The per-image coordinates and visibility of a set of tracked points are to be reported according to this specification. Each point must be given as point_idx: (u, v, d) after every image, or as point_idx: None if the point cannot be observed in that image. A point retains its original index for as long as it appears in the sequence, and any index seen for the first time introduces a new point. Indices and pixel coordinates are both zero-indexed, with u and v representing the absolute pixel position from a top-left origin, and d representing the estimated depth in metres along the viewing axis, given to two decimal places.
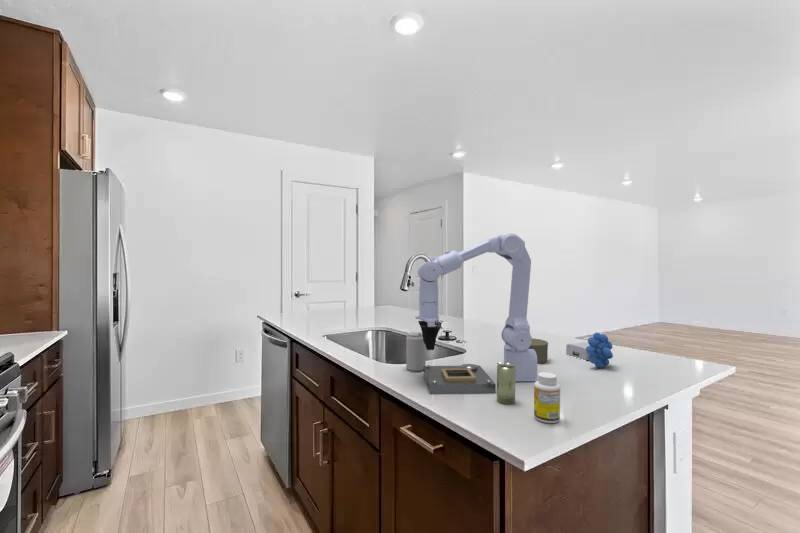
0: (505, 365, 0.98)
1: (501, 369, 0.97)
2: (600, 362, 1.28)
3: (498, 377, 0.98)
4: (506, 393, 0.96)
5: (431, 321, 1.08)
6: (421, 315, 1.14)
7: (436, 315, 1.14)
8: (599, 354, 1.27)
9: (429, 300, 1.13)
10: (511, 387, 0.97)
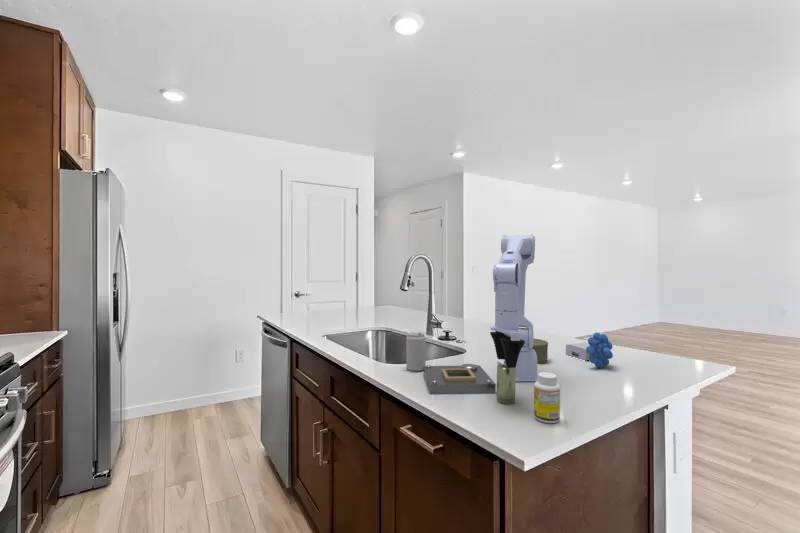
0: (505, 365, 0.98)
1: (501, 369, 0.97)
2: (600, 362, 1.28)
3: (498, 377, 0.98)
4: (506, 393, 0.96)
5: (516, 334, 0.91)
6: (499, 326, 0.97)
7: (517, 326, 0.97)
8: (599, 354, 1.27)
9: (518, 308, 0.97)
10: (511, 387, 0.97)
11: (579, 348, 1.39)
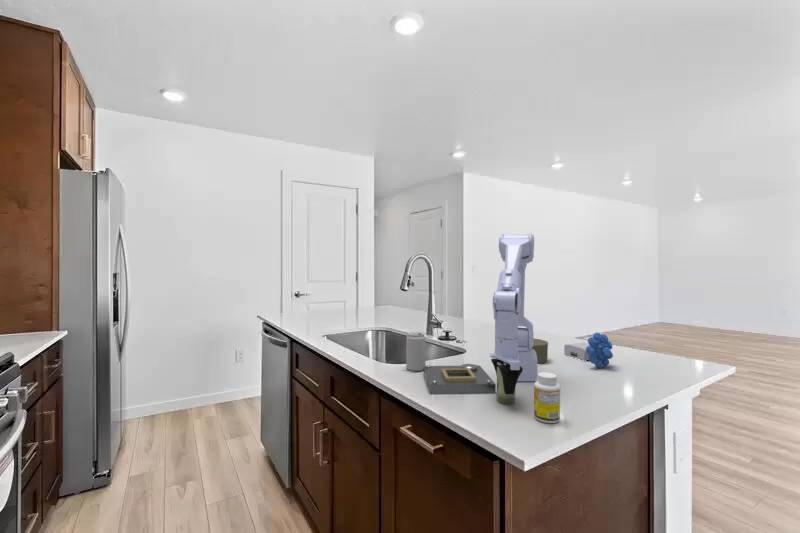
0: None
1: None
2: (600, 362, 1.28)
3: (498, 377, 0.98)
4: None
5: (515, 363, 0.91)
6: (499, 354, 0.97)
7: (516, 354, 0.97)
8: (599, 354, 1.27)
9: (517, 335, 0.97)
10: None
11: (578, 348, 1.39)
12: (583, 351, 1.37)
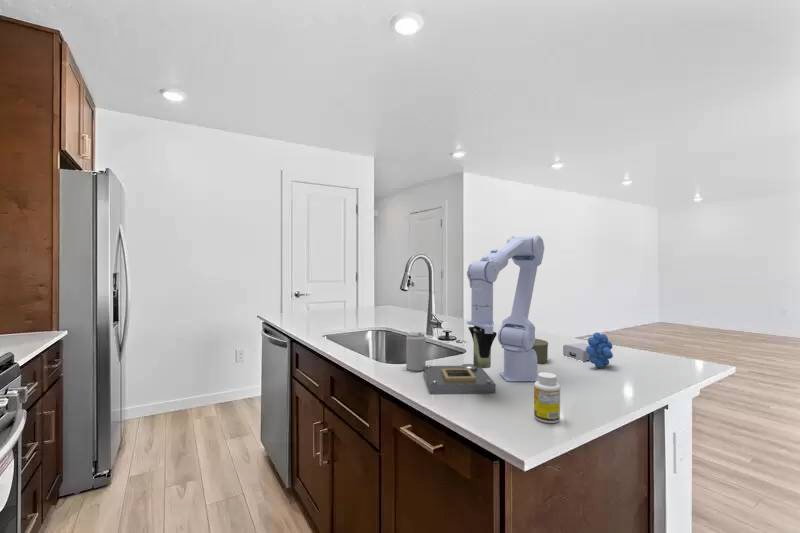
0: None
1: None
2: (600, 362, 1.28)
3: (474, 342, 1.04)
4: None
5: (489, 327, 0.97)
6: (474, 320, 1.03)
7: (491, 320, 1.03)
8: (599, 354, 1.27)
9: (490, 303, 1.02)
10: None
11: (576, 348, 1.39)
12: (582, 351, 1.36)
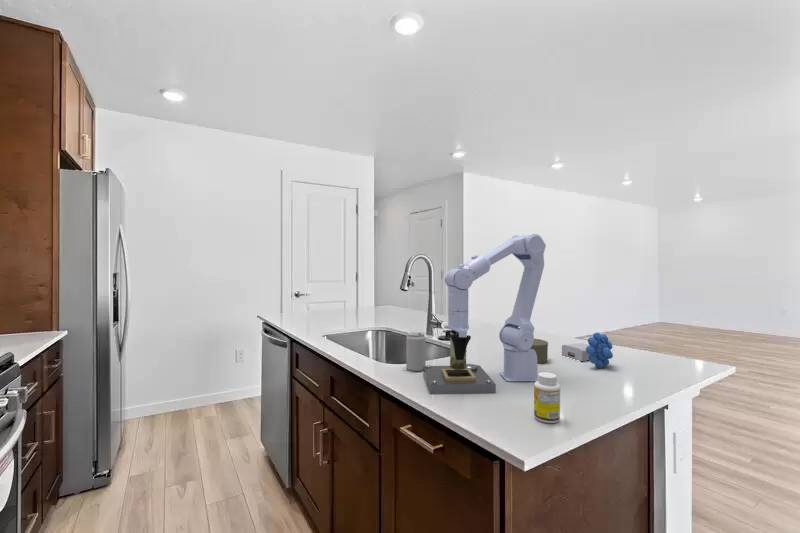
0: None
1: None
2: (600, 362, 1.28)
3: (451, 345, 1.10)
4: None
5: (463, 331, 1.04)
6: (451, 324, 1.09)
7: (466, 324, 1.09)
8: (599, 354, 1.27)
9: (462, 309, 1.08)
10: None
11: (575, 349, 1.38)
12: (580, 351, 1.36)
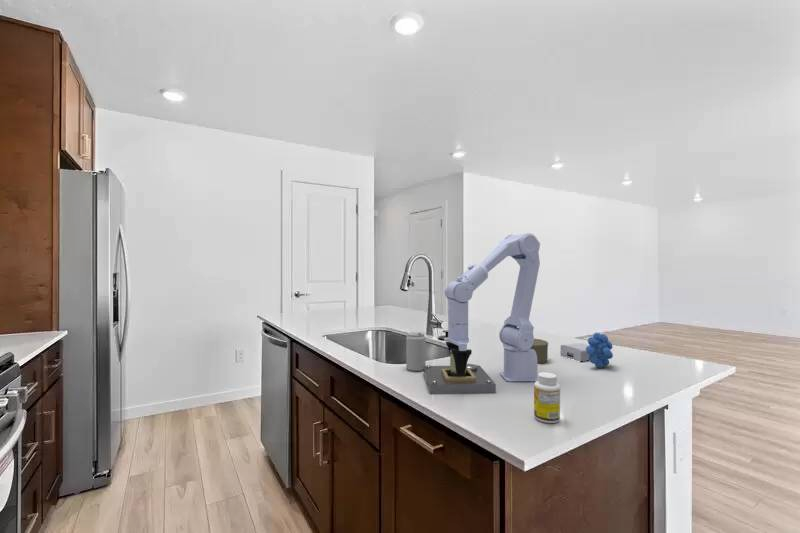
0: None
1: None
2: (600, 362, 1.28)
3: (451, 363, 1.11)
4: None
5: (463, 345, 1.04)
6: (451, 337, 1.09)
7: (466, 337, 1.09)
8: (599, 354, 1.27)
9: (462, 322, 1.08)
10: None
11: (574, 349, 1.38)
12: (579, 352, 1.36)
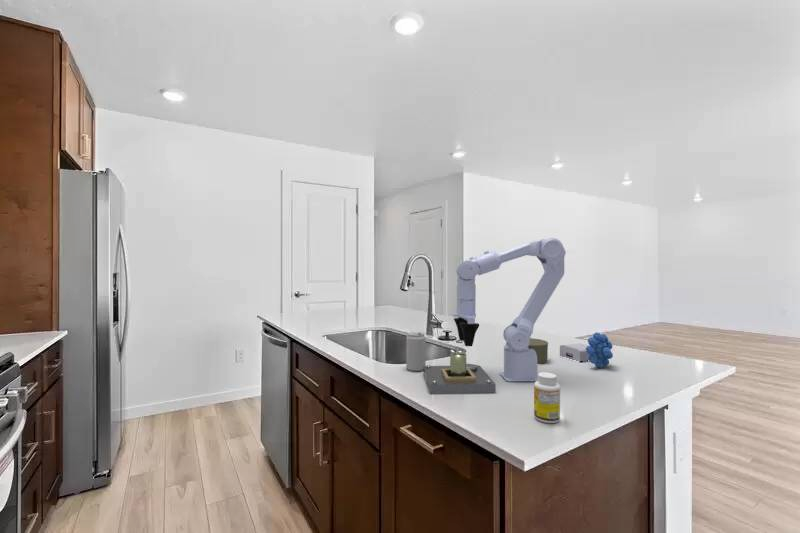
0: (457, 353, 1.11)
1: (453, 356, 1.10)
2: (600, 362, 1.28)
3: (451, 363, 1.11)
4: None
5: (471, 318, 1.12)
6: (459, 312, 1.17)
7: (474, 312, 1.17)
8: (599, 354, 1.27)
9: (466, 298, 1.16)
10: (461, 372, 1.09)
11: (573, 349, 1.38)
12: (578, 352, 1.36)
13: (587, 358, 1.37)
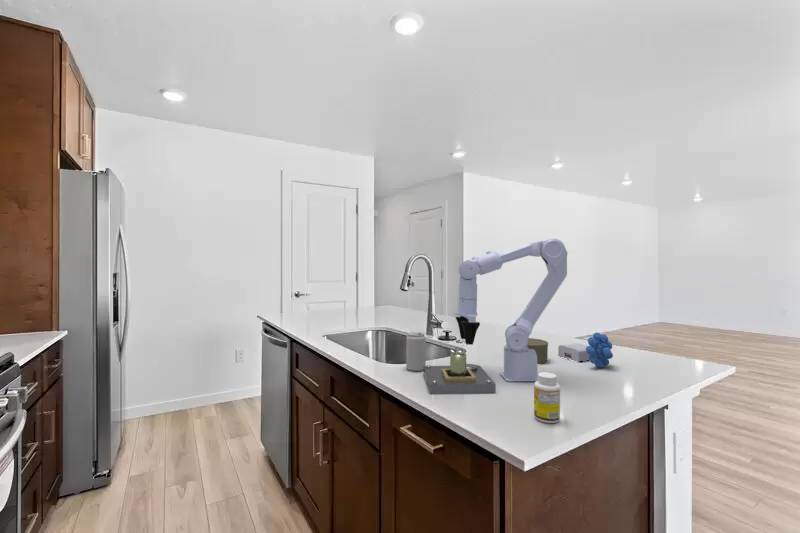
0: (457, 353, 1.11)
1: (453, 356, 1.10)
2: (600, 362, 1.28)
3: (451, 363, 1.11)
4: None
5: (472, 317, 1.14)
6: (461, 311, 1.20)
7: (475, 311, 1.19)
8: (599, 354, 1.27)
9: (466, 297, 1.18)
10: (461, 372, 1.09)
11: (572, 349, 1.38)
12: (577, 352, 1.36)
13: (586, 358, 1.37)
